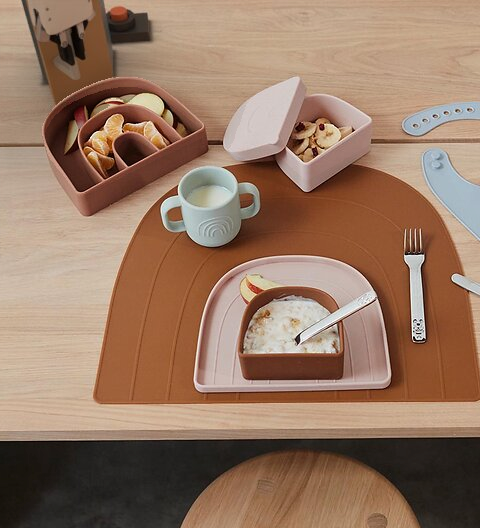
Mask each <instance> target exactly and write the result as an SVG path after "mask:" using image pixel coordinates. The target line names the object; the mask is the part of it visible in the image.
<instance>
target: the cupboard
mask: <svg viewBox="0 0 480 528" xmlns="http://www.w3.org/2000/svg"><path fill="white" fill-rule="evenodd" d="M21 4H22V7H23V11H24V15H25V18H26V22H27V25H28V29H29V33H30V36H31V39H32V42H33V46H34V50H35V53H36V57H37V60H38V64H39V67H40V71H41V74H42V78H43V82H44V84H49V83H48V79H47V75H46V72H45V68H44V65H43V61H42V58H41V54H40V50H39V47H38V43H37V40H36V36H35V32H34V29H33V25H32V22H31V18H30V15H29V11H28V7H27V4H26V0H21ZM99 5H100V10H101V15H102V20H103V25H104V30H105V35H106V41H107V46H108V51H109V56H110V61H111V66H112V72H113V73H114V49H113V43H112V42H111V37H110V32H109V26H108V21H107V16H106V13H107V11H106V6H105V0H99Z"/></svg>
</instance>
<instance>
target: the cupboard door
mask: <svg viewBox="0 0 480 528" xmlns="http://www.w3.org/2000/svg"><path fill="white" fill-rule="evenodd" d="M91 1H92V7H93V10H94V11H95V17H94V18H93V19H92V20H91V21H90V22H88V25H87V27H86V29H85V37H84V38H83V43H84V47H85V57H86V59H85V60H81V59H79V58H77V57H76V56H75V51H74V47H73V43H72V39H71V34H70V33H71V32H70V29H69V28H68V29H65V34H66V38H67V42H68V44H69V45H71V47H72V51H73V56H74V60H75V65H74V66H71V65H69V64H68V63H66V62H64V61H63V60H62V59H61V58H60V55H59V51H58V47H57V44H56V43H54V42H52V41H49V42H40V41H39V40H37V39H36V40H37V43H38V47H39V50H40V54H41V58H42V61H43V65H44V68H45V72H46V75H47V79H48V83H47V84H48V86H49V89H50V93H51V96H52V100H53V103H54V106H55V105H57V104H58V103H59V102H60V101H62V100H63V99H64V98H66V97H67V96H69V95H71V94H72V93H74V92H76V91H78V90H80V89H82V88H84V87H86V86H89V85H91V84H93V83H96V82H98V81H101V80H105V79H108V78H112V77H114V71H113V72H112V66H111V61H110V56H109V51H108V46H107V41H106V35H105V30H104V25H103V20H102V15H101V10H100V5H99V0H91ZM26 4H27V7H28V11H29V6H28V0H26ZM29 15H30V11H29ZM30 18H31V16H30ZM31 22H32V20H31ZM32 25H33V23H32ZM33 29H34V32H35V36H36V27H35V26H34V25H33Z"/></svg>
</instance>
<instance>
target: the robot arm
mask: <svg viewBox="0 0 480 528" xmlns="http://www.w3.org/2000/svg"><path fill="white" fill-rule="evenodd" d="M28 6H29V11H30V16H31V20H32V23H33V25H34V26H35V27H36V39H37V40H39V41H40V42H49V41H52V42H54V43H56V44H57V47H58V51H59V55H60V58H61V59H62V60H63V61H64V62H66V63H68V64H69V65H71V66H74V65H75V60H74V56H73V51H72V47H71V45H69V44H68V42H67V38H66V34H65V29H68V28H69V29H70V32H71V33H70V34H71V39H72V43H73V47H74V51H75V56H76V57H77V58H79V59H81V60H85V59H86V57H85V47H84V43H83V38H84V37H85V29H86V27H87V25H88V22H90V21H91V20H92V19H93V18H94V17H95V11H94V10H93V7H92V1H91V0H28Z"/></svg>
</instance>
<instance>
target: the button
mask: <svg viewBox="0 0 480 528" xmlns="http://www.w3.org/2000/svg"><path fill="white" fill-rule="evenodd" d="M126 9H127V8H126V7H125V6H121V5H119V6H118V5H117V6H114V7H112V8H110V10H109V11H110V15H111V19H112V21H116V22H120V21H124V20H127V18H128V15H127V10H126Z"/></svg>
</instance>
